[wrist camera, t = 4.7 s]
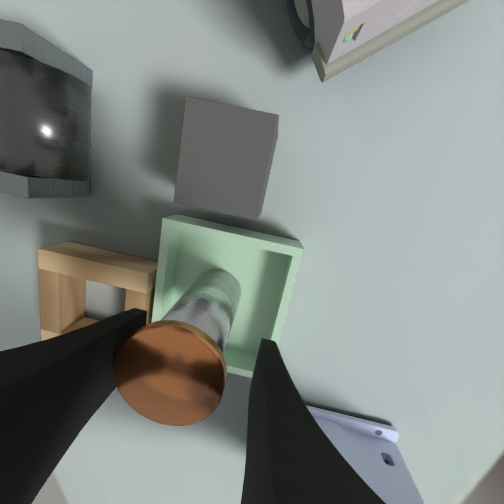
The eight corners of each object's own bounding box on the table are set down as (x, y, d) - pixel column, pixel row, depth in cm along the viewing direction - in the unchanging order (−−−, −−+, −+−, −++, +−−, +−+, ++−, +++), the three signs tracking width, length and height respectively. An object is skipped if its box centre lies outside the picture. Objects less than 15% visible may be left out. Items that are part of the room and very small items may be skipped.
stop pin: (253, 271, 15) (233, 348, 8) (240, 324, 16) (211, 437, 9) (193, 256, 15) (117, 318, 8) (184, 310, 16) (110, 409, 9)
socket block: (164, 263, 16) (148, 274, 14) (155, 348, 18) (139, 369, 16) (68, 241, 16) (37, 248, 14) (68, 327, 18) (41, 345, 16)
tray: (300, 241, 15) (304, 249, 13) (268, 358, 17) (268, 382, 15) (178, 214, 15) (162, 217, 13) (163, 333, 18) (148, 352, 15)
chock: (277, 136, 14) (278, 114, 10) (261, 213, 15) (256, 220, 11) (210, 122, 14) (185, 95, 10) (199, 199, 15) (173, 202, 11)
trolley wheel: (108, 74, 14) (43, 27, 10) (104, 199, 15) (47, 202, 12) (43, 61, 14) (-47, 10, 10) (46, 186, 16) (-29, 185, 12)
